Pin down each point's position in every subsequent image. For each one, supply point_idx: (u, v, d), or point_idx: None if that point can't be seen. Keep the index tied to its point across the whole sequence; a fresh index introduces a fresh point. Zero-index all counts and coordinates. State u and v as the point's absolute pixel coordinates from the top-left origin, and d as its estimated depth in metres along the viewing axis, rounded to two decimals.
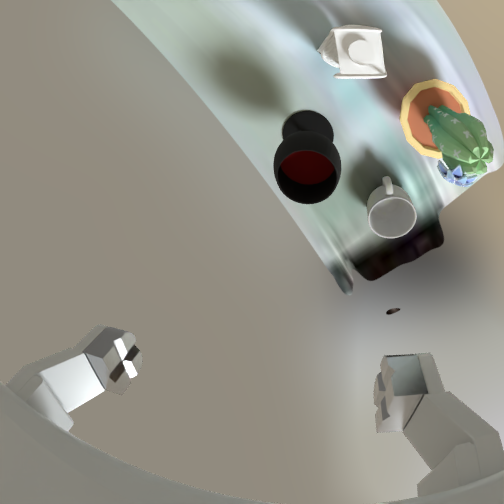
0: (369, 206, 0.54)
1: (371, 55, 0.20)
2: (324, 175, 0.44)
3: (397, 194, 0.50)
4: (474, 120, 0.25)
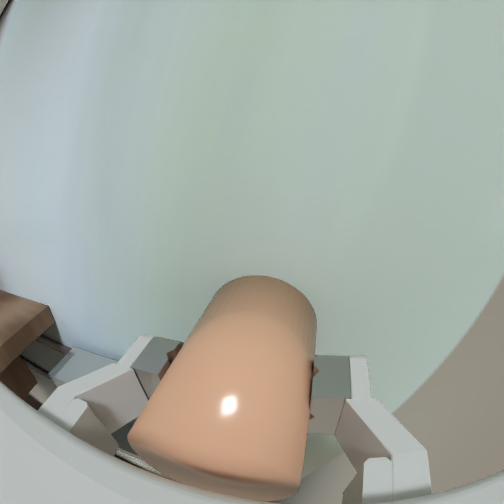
0: None
1: None
2: None
3: None
4: None
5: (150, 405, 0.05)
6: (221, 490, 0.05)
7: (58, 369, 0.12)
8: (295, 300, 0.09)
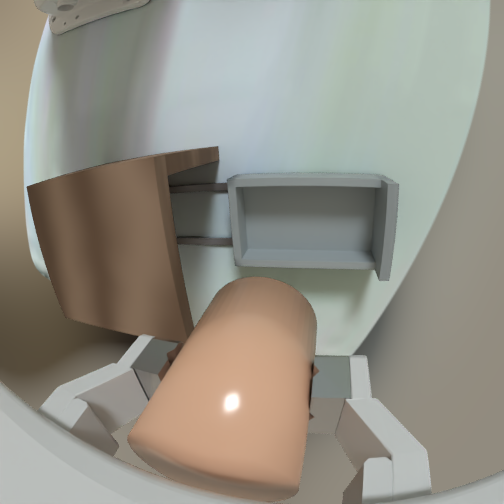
0: None
1: None
2: None
3: None
4: None
5: (150, 407, 0.05)
6: (221, 491, 0.05)
7: (234, 178, 0.21)
8: (295, 301, 0.09)
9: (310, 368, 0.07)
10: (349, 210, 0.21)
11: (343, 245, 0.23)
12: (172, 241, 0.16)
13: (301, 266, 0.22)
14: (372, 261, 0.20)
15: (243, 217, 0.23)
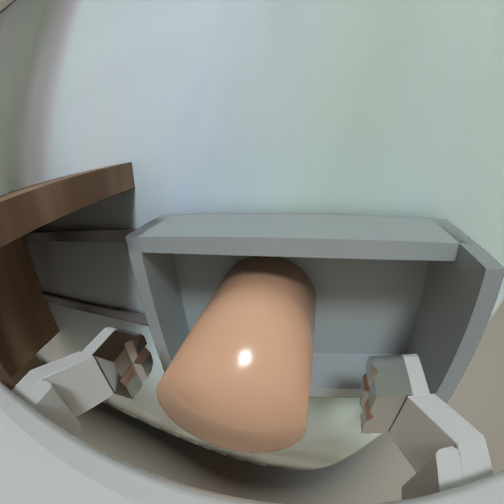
0: None
1: None
2: None
3: None
4: None
5: (180, 354, 0.07)
6: (236, 440, 0.07)
7: (143, 230, 0.10)
8: (298, 274, 0.10)
9: (311, 328, 0.09)
10: (377, 290, 0.10)
11: (358, 345, 0.12)
12: None
13: None
14: None
15: (174, 297, 0.12)
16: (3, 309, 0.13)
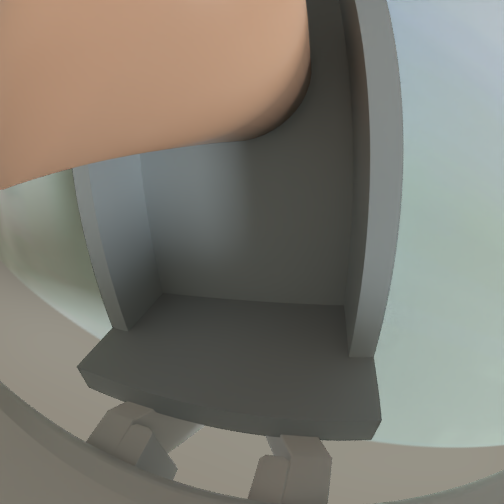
0: None
1: None
2: None
3: None
4: None
5: None
6: None
7: None
8: (293, 108, 0.05)
9: (228, 136, 0.04)
10: (263, 236, 0.07)
11: (162, 222, 0.08)
12: None
13: None
14: (128, 322, 0.07)
15: None
16: None
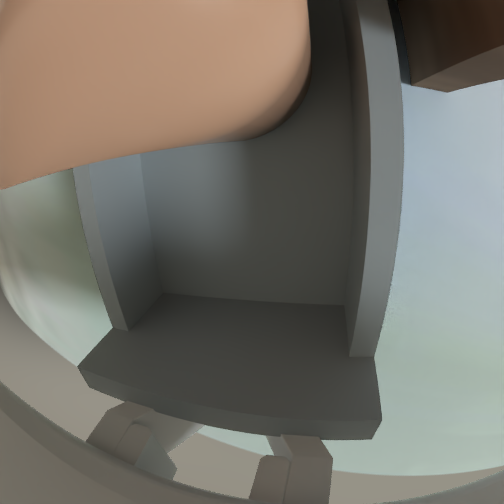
0: None
1: None
2: None
3: None
4: None
5: None
6: None
7: None
8: (293, 108, 0.05)
9: (228, 135, 0.04)
10: (263, 235, 0.08)
11: (162, 222, 0.08)
12: None
13: None
14: (128, 321, 0.07)
15: None
16: None
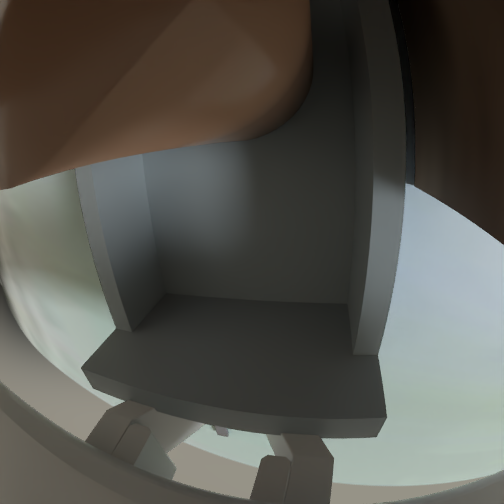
0: None
1: None
2: None
3: None
4: None
5: None
6: None
7: None
8: (295, 107, 0.05)
9: (232, 135, 0.04)
10: (266, 235, 0.08)
11: (165, 222, 0.08)
12: None
13: None
14: (132, 322, 0.07)
15: None
16: None
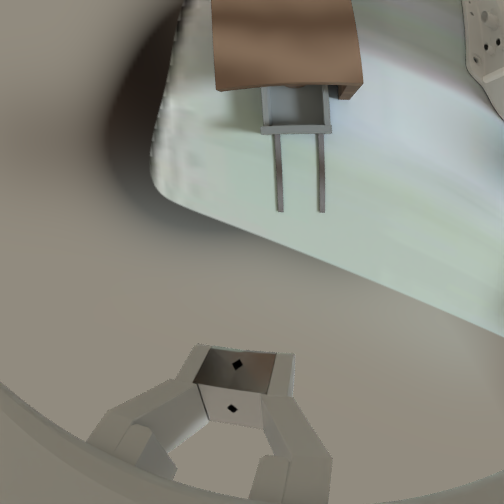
0: None
1: None
2: None
3: None
4: None
5: None
6: None
7: None
8: None
9: None
10: (302, 109, 0.28)
11: (275, 107, 0.28)
12: (302, 83, 0.19)
13: None
14: (269, 124, 0.27)
15: None
16: None
